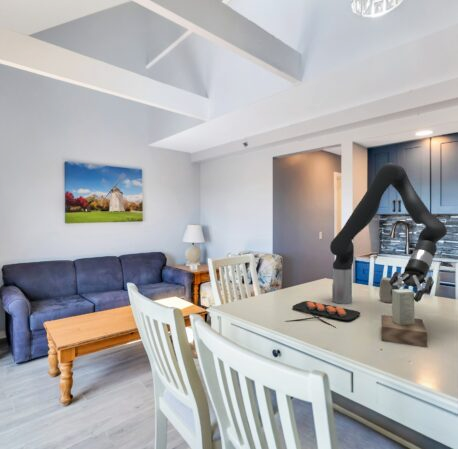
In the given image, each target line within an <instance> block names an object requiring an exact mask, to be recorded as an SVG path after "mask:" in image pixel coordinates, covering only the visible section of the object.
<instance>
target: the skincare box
mask: <svg viewBox="0 0 458 449" xmlns="http://www.w3.org/2000/svg"><path fill="white" fill-rule="evenodd" d="M414 297H415V291H413V290H411V289H408V288H401V289H400V288H399V289H396V290H392V303H391V304H392V305H391V310H392V313H391V314H392V315H391V316H392V321H394V322H395V323H396V324H398V325H405V324H415V322H414V321H415V320H414V318H415V300H414Z"/></svg>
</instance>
